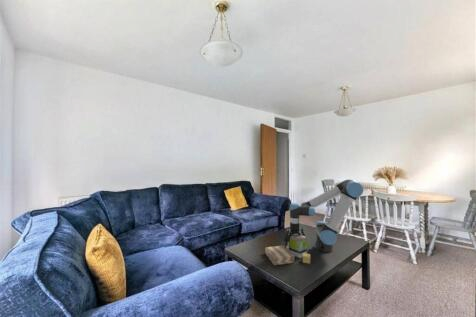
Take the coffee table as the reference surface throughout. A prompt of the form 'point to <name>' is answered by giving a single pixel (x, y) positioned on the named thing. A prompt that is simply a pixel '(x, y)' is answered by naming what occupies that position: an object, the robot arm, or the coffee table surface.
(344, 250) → the coffee table surface
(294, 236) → the tea box
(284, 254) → the oak pedestal
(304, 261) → the mustard cube
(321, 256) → the coffee table surface
